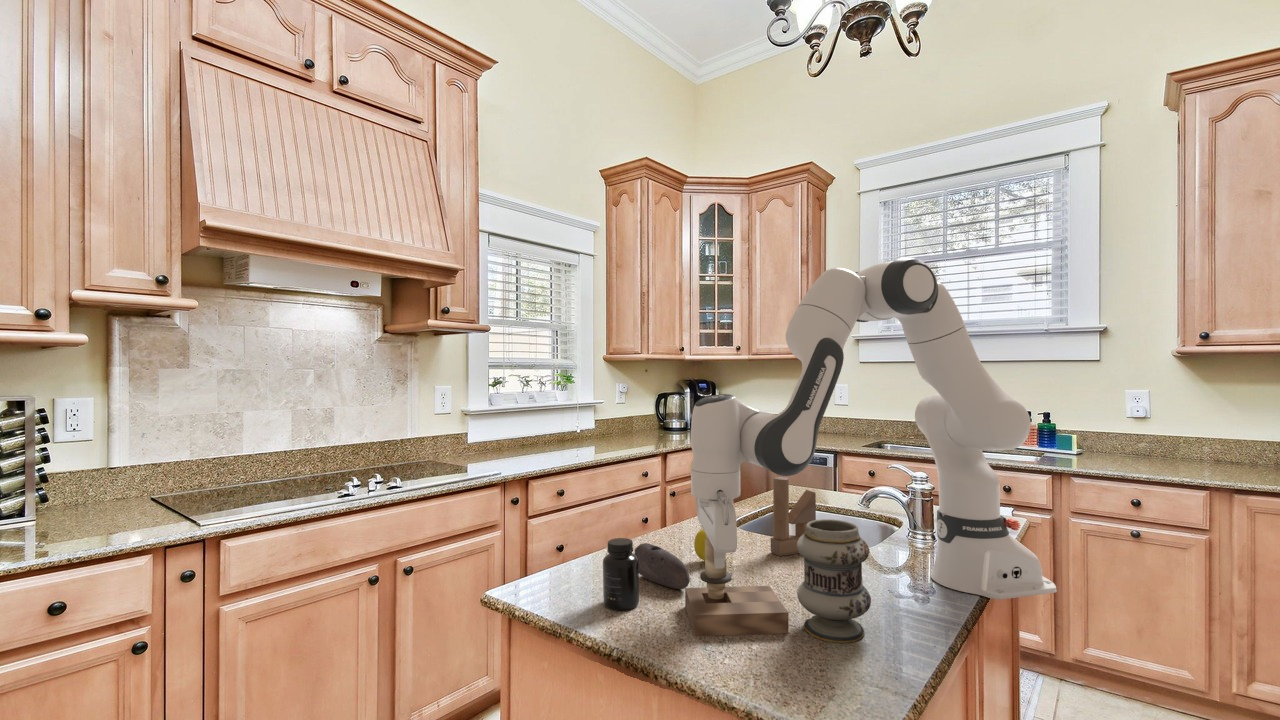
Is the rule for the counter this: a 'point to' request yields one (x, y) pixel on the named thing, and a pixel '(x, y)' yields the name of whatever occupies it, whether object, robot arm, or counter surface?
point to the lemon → (700, 544)
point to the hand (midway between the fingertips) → (716, 562)
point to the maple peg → (714, 574)
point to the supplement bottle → (620, 575)
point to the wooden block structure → (789, 517)
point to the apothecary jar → (833, 580)
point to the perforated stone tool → (661, 566)
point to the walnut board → (736, 611)
